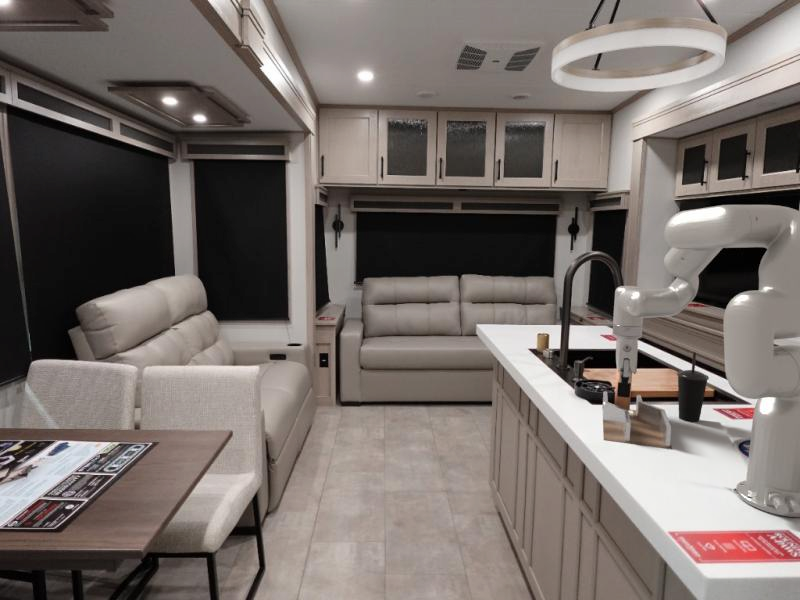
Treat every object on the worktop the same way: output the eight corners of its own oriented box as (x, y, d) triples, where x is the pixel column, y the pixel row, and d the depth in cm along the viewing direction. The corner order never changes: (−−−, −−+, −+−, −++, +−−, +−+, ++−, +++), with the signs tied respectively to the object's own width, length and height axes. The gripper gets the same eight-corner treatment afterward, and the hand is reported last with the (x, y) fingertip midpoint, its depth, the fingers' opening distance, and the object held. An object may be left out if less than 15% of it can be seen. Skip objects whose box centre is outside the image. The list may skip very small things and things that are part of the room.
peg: (630, 411, 144) (632, 369, 142) (614, 409, 146) (617, 368, 144) (629, 406, 148) (631, 366, 146) (614, 405, 149) (616, 364, 148)
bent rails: (669, 447, 126) (671, 427, 125) (603, 438, 131) (604, 419, 130) (658, 414, 148) (660, 397, 147) (602, 407, 153) (603, 391, 152)
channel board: (672, 453, 125) (672, 449, 125) (603, 443, 130) (603, 439, 130) (660, 416, 149) (660, 412, 149) (602, 409, 154) (602, 406, 154)
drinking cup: (669, 422, 145) (675, 352, 142) (678, 415, 150) (683, 347, 147) (699, 429, 139) (706, 357, 136) (707, 422, 145) (714, 352, 142)
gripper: (644, 337, 134) (639, 405, 137) (639, 326, 150) (635, 387, 153) (613, 335, 137) (609, 402, 140) (611, 324, 153) (607, 384, 155)
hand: (622, 393), depth 146 cm, fingers closed on peg, 4 cm apart
